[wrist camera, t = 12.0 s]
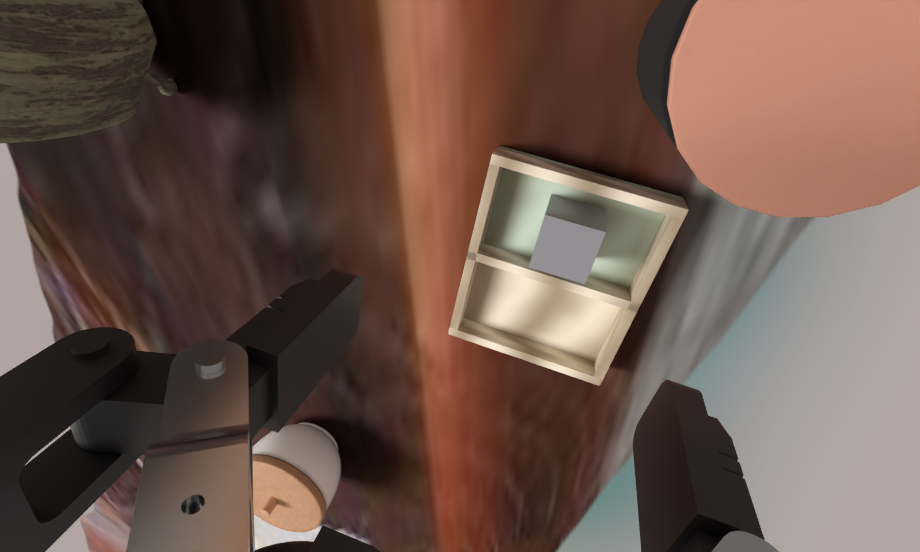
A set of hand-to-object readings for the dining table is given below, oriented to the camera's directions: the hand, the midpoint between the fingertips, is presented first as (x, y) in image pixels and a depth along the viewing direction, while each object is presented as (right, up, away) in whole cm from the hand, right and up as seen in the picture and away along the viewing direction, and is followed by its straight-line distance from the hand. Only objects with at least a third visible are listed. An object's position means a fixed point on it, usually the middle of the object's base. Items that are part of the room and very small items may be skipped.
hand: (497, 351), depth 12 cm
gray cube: (+8, +6, +26) cm, 28 cm away
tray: (+7, +3, +29) cm, 30 cm away
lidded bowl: (-21, -21, +51) cm, 59 cm away
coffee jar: (+17, +17, +19) cm, 30 cm away
